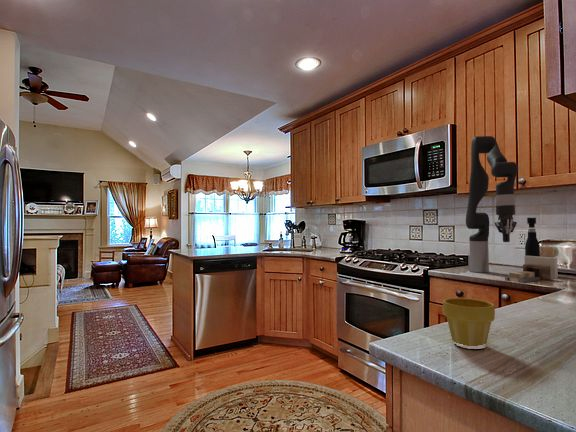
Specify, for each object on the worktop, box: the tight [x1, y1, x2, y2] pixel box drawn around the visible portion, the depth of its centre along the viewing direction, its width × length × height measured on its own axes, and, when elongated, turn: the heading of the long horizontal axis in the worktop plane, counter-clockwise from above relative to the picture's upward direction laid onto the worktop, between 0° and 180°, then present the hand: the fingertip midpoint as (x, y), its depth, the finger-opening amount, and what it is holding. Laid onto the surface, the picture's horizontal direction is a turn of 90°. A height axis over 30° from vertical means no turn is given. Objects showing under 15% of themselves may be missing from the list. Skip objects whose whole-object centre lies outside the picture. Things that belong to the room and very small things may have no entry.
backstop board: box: [523, 255, 559, 280], centre depth 170 cm, size 14×2×10 cm, turn 24°
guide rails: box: [504, 275, 541, 284], centre depth 160 cm, size 8×14×2 cm, turn 114°
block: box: [522, 263, 552, 281], centre depth 165 cm, size 9×6×6 cm, turn 24°
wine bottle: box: [524, 217, 541, 257], centre depth 179 cm, size 6×6×30 cm
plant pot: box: [442, 297, 496, 346], centre depth 77 cm, size 10×10×10 cm
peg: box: [508, 271, 535, 283], centre depth 160 cm, size 12×4×4 cm, turn 112°
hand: (506, 242), depth 156 cm, fingers closed
